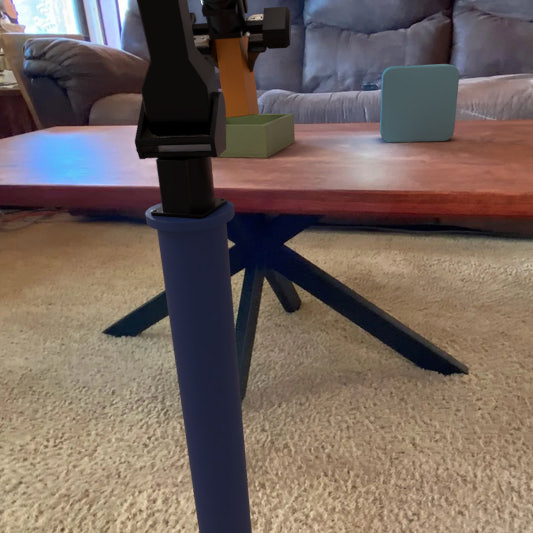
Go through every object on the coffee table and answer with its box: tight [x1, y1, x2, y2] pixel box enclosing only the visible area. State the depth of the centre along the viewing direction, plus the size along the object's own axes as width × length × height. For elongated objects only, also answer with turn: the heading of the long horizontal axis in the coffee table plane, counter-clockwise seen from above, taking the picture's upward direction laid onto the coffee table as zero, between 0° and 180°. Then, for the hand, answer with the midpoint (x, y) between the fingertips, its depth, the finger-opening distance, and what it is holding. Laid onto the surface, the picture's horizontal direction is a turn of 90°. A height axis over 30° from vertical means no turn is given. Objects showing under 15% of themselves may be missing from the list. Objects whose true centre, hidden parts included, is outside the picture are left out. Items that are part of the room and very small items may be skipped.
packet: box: [215, 37, 260, 118], centre depth 84 cm, size 4×7×13 cm, turn 168°
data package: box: [379, 63, 460, 143], centre depth 86 cm, size 12×4×12 cm, turn 81°
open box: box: [218, 113, 296, 159], centre depth 88 cm, size 15×15×5 cm
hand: (238, 70), depth 85 cm, fingers closed on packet, 4 cm apart
